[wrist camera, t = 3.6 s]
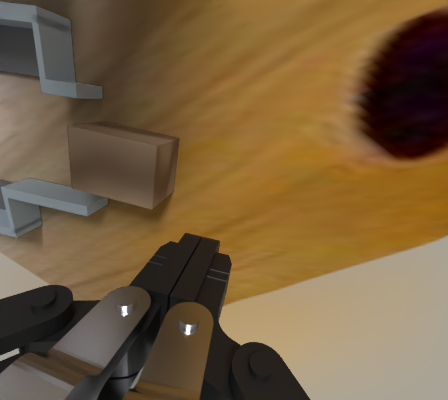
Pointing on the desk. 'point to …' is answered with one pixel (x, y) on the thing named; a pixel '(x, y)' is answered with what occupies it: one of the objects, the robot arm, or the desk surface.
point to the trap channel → (50, 83)
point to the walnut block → (122, 162)
